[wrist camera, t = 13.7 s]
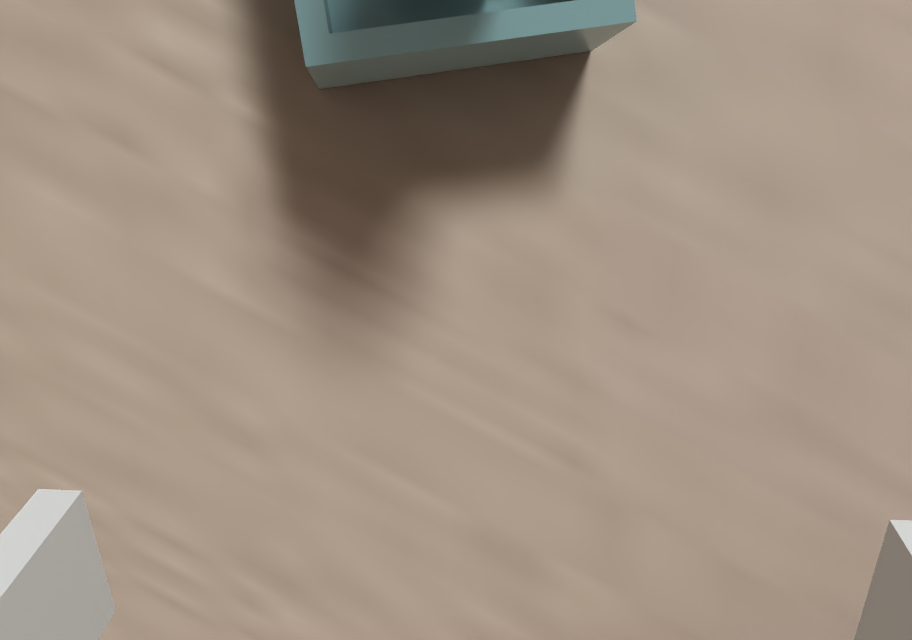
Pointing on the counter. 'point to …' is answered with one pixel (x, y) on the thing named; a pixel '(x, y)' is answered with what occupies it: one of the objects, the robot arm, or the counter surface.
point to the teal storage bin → (446, 34)
